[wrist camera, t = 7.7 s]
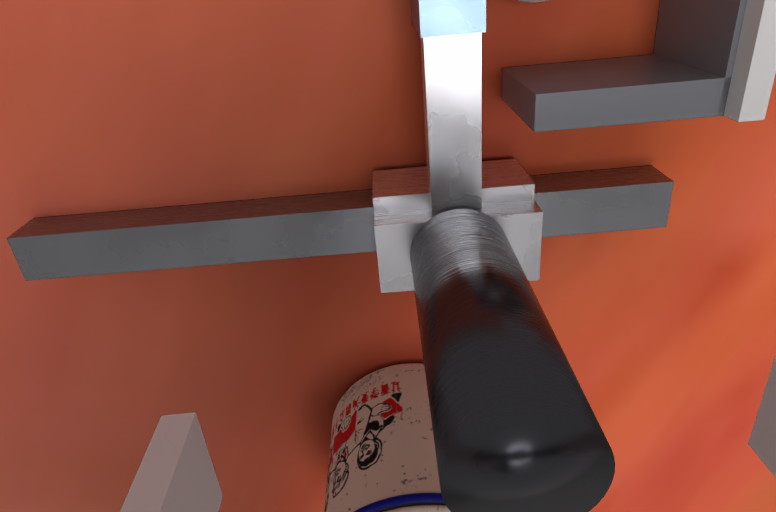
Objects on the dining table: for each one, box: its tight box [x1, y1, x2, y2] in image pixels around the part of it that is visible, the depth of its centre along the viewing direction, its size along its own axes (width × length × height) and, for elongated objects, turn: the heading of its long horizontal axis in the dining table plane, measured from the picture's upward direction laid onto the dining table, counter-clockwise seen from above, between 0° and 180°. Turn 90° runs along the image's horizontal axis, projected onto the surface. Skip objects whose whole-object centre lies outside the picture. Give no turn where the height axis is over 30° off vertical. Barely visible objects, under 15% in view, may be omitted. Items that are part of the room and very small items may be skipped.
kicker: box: [372, 0, 615, 512], centre depth 15 cm, size 6×14×14 cm, turn 5°
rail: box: [7, 165, 674, 281], centre depth 24 cm, size 27×2×2 cm, turn 95°
